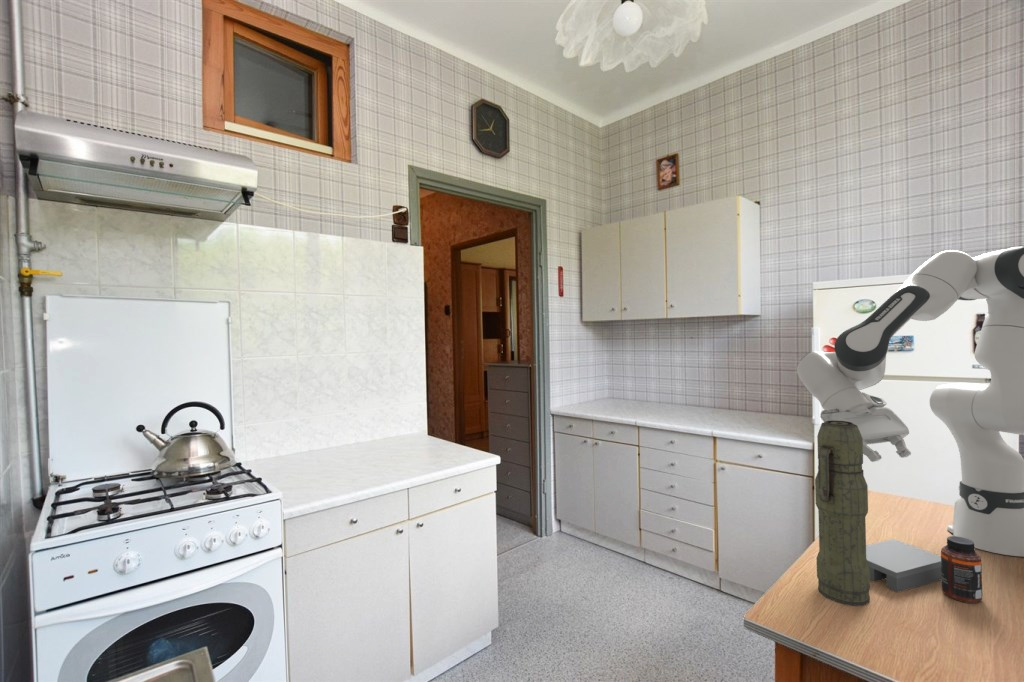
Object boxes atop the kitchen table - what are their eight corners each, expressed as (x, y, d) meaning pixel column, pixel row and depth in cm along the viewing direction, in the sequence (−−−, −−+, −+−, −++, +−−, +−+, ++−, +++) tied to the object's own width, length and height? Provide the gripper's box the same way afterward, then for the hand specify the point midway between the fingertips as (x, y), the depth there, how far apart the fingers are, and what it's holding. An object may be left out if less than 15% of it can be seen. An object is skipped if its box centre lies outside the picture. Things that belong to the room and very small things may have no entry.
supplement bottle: (991, 606, 92) (989, 547, 92) (955, 603, 93) (953, 545, 93) (968, 589, 98) (967, 534, 98) (934, 587, 99) (933, 532, 99)
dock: (894, 555, 113) (893, 538, 113) (949, 577, 102) (948, 559, 102) (844, 568, 108) (844, 550, 108) (897, 592, 97) (896, 572, 97)
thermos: (881, 594, 97) (877, 421, 96) (854, 614, 91) (850, 429, 90) (833, 576, 104) (829, 416, 104) (805, 593, 98) (801, 423, 98)
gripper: (825, 402, 111) (869, 454, 101) (887, 397, 117) (933, 446, 108) (808, 419, 115) (848, 470, 106) (868, 413, 121) (912, 461, 112)
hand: (892, 458), depth 107 cm, fingers open, 8 cm apart
